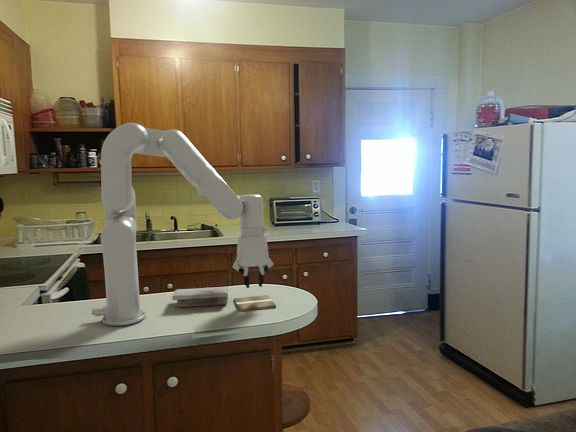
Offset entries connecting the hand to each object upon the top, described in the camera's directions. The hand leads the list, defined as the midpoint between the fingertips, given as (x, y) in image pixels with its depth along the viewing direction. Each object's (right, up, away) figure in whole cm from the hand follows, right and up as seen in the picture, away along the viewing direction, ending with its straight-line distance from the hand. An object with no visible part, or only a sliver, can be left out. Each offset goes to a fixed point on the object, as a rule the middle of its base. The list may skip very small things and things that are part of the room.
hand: (253, 285), depth 148 cm
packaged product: (-17, -4, -4) cm, 18 cm away
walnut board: (0, -6, +1) cm, 6 cm away
